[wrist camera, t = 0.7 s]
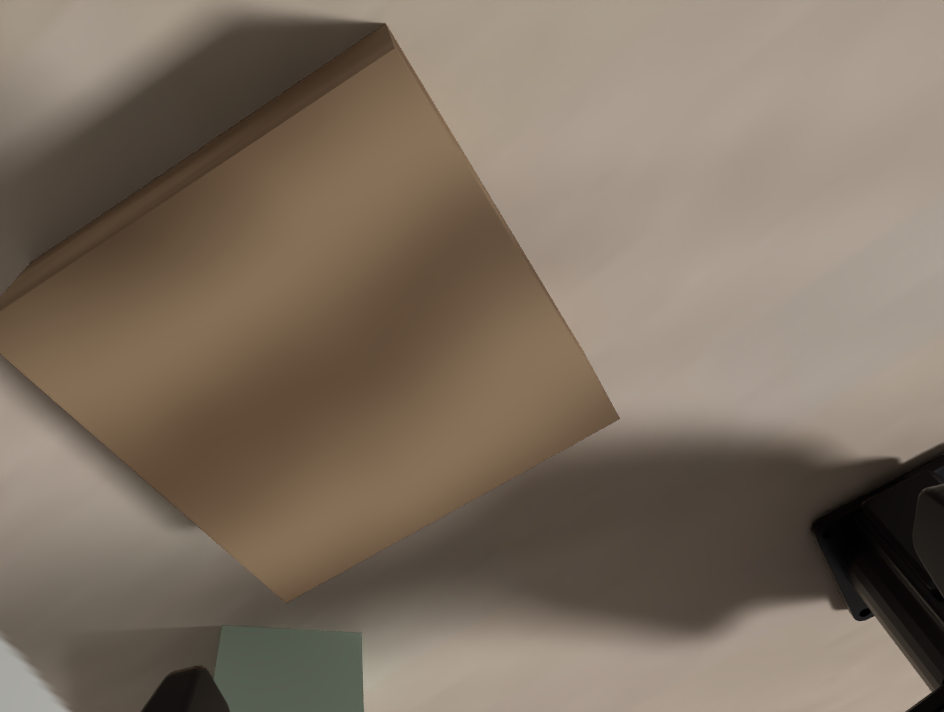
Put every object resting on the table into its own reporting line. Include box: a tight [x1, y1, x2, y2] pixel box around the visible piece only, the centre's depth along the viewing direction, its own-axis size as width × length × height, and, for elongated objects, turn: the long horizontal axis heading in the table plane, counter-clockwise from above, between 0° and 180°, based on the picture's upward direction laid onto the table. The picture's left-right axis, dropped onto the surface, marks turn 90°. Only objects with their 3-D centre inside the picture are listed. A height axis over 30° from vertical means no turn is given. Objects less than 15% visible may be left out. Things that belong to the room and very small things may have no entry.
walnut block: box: [0, 24, 620, 603], centre depth 20 cm, size 11×11×4 cm
